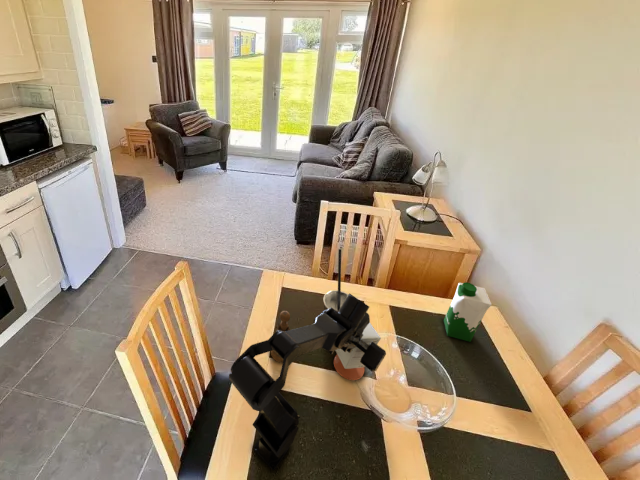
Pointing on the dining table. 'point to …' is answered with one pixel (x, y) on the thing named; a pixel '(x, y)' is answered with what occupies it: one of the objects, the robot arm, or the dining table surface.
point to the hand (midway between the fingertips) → (357, 340)
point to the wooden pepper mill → (283, 327)
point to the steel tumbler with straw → (335, 292)
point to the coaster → (347, 370)
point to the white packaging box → (356, 354)
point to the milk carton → (466, 311)
